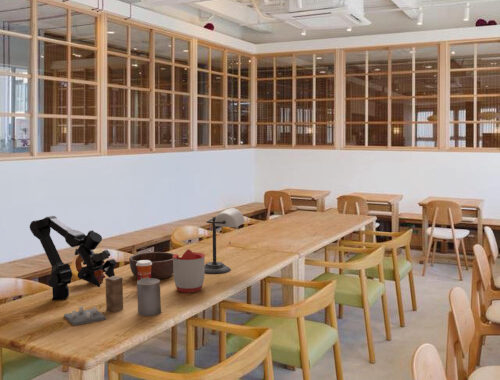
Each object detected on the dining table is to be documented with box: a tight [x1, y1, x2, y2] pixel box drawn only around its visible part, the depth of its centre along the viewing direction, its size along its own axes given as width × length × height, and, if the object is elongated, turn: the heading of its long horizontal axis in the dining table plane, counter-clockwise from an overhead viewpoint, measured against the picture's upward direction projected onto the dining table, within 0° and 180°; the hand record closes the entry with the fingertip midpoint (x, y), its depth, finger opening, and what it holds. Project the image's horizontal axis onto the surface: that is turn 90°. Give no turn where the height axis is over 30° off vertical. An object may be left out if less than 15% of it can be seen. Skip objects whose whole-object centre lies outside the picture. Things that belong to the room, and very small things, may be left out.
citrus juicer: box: [172, 248, 206, 294], centre depth 275 cm, size 16×17×20 cm
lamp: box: [204, 207, 246, 275], centre depth 311 cm, size 26×24×34 cm
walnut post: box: [104, 275, 124, 313], centre depth 244 cm, size 5×5×14 cm
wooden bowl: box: [128, 251, 175, 280], centre depth 302 cm, size 25×25×10 cm
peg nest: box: [64, 306, 107, 326], centre depth 234 cm, size 13×13×4 cm
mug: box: [74, 255, 106, 284], centre depth 288 cm, size 15×8×15 cm, turn 92°
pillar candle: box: [136, 278, 162, 317], centre depth 240 cm, size 10×10×15 cm
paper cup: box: [136, 260, 152, 281], centre depth 274 cm, size 8×8×14 cm
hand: (107, 284), depth 246 cm, fingers open, 9 cm apart
